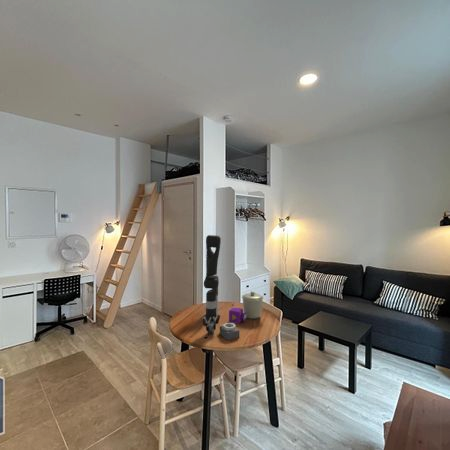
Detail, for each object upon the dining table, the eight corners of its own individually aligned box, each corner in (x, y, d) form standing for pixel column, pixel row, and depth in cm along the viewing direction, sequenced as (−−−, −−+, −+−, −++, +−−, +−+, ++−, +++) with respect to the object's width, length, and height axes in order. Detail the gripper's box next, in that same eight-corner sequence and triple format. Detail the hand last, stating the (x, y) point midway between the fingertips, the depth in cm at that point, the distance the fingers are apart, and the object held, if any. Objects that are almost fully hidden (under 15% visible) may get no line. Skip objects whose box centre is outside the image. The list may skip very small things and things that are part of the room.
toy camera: (245, 324, 186) (245, 312, 186) (228, 323, 189) (228, 310, 189) (247, 319, 197) (247, 307, 197) (230, 318, 199) (230, 305, 199)
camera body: (219, 333, 172) (219, 323, 171) (230, 330, 176) (230, 321, 176) (227, 340, 161) (227, 329, 161) (239, 337, 165) (239, 327, 165)
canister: (261, 312, 212) (261, 288, 212) (265, 320, 194) (265, 294, 194) (240, 312, 212) (240, 288, 212) (242, 320, 194) (242, 294, 194)
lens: (206, 332, 173) (206, 321, 172) (212, 331, 175) (212, 319, 175) (209, 335, 168) (209, 323, 168) (215, 333, 171) (215, 322, 171)
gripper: (217, 303, 178) (217, 326, 178) (199, 306, 171) (199, 330, 171) (222, 306, 172) (222, 330, 172) (203, 309, 165) (203, 334, 165)
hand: (210, 330), depth 172 cm, fingers closed on lens, 4 cm apart
